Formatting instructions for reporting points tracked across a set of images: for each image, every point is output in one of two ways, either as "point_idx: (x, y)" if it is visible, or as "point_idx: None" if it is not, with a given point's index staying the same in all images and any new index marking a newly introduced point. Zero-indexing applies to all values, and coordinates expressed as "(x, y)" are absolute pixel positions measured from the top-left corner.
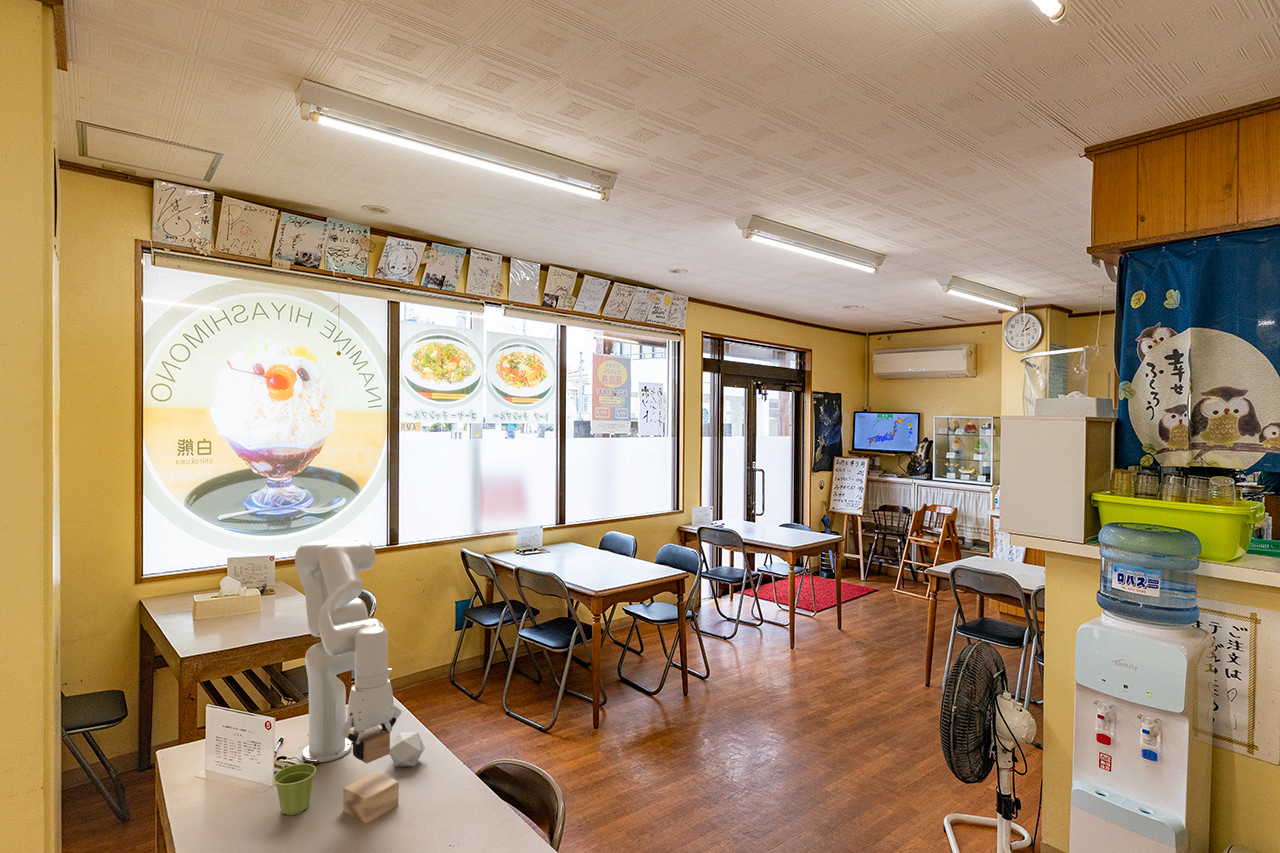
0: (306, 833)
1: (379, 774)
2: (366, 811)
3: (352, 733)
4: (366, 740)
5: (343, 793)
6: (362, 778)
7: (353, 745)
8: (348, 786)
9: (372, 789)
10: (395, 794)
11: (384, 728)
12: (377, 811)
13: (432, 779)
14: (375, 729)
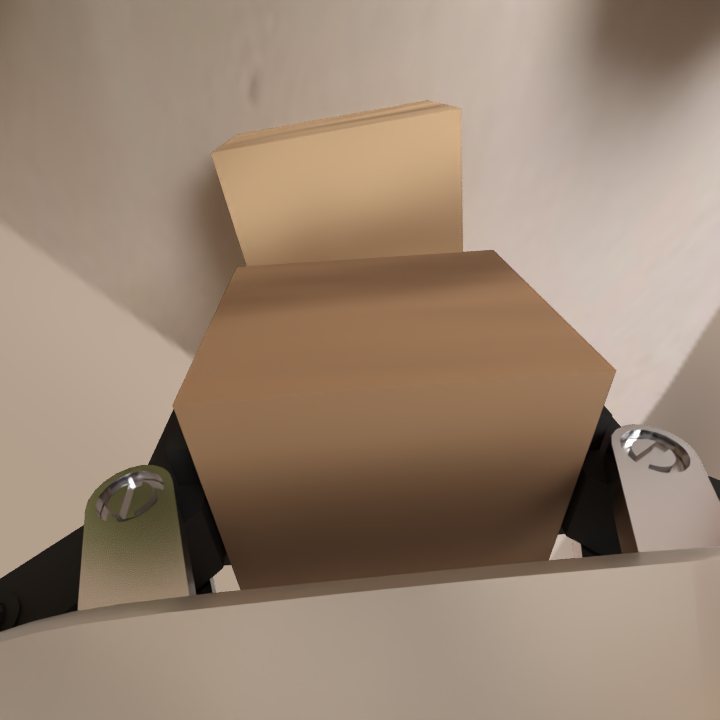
0: (47, 188)
1: (448, 177)
2: None
3: (81, 584)
4: None
5: (220, 147)
6: (350, 138)
7: (157, 464)
8: (242, 168)
9: None
10: None
11: (590, 520)
12: None
13: (656, 203)
14: (521, 444)
